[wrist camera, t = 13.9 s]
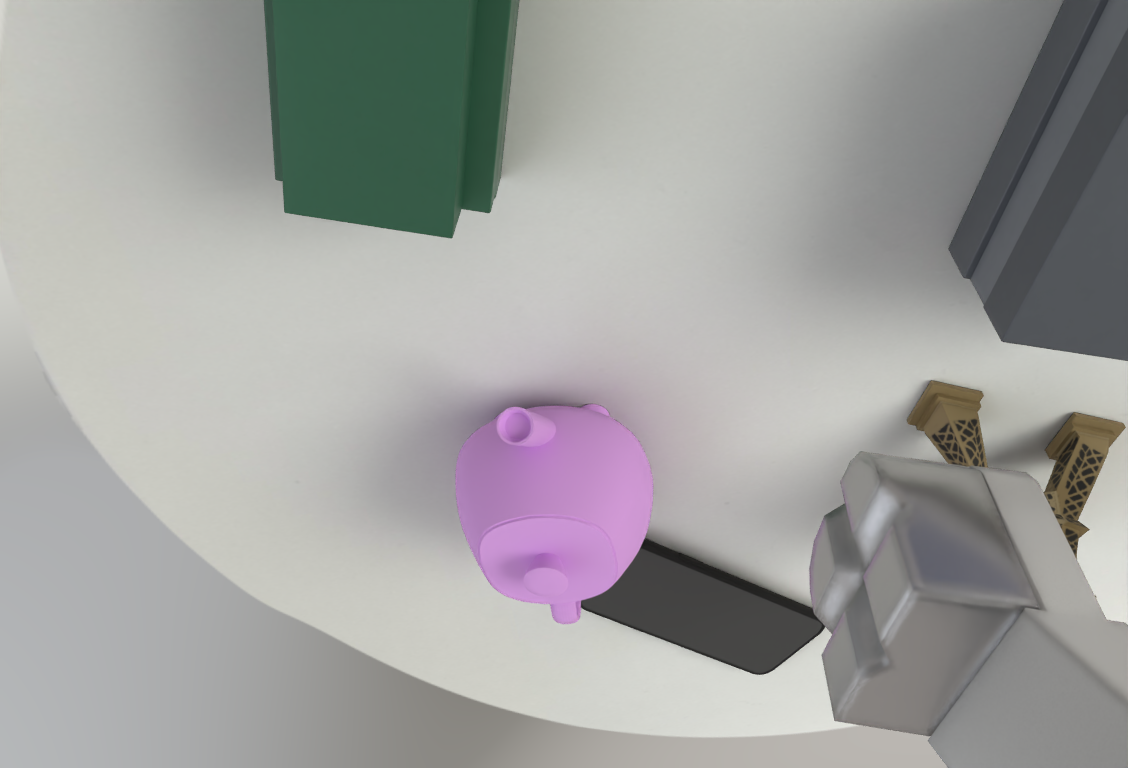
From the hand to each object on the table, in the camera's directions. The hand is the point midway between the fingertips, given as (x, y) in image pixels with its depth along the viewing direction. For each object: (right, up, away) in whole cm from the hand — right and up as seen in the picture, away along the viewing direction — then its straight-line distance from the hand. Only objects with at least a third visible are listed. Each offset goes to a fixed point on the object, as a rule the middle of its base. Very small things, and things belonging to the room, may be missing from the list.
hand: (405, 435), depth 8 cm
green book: (-5, +13, +25) cm, 28 cm away
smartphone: (+10, -13, +50) cm, 53 cm away
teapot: (+1, -2, +42) cm, 42 cm away
